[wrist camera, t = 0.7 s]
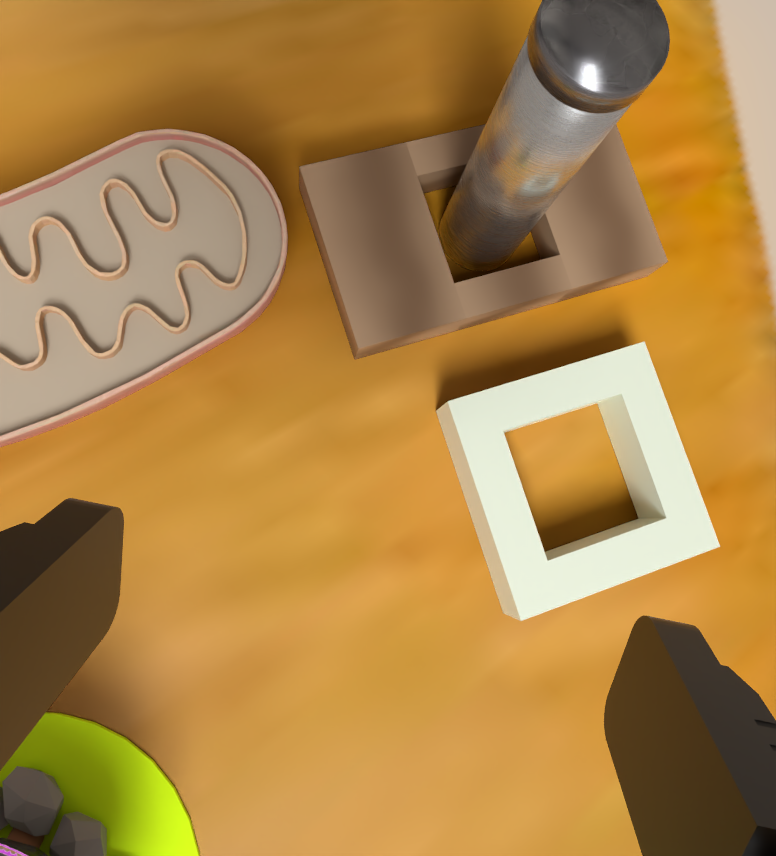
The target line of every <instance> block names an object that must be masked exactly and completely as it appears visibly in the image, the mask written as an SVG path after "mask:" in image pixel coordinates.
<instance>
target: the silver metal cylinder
mask: <svg viewBox="0 0 776 856" xmlns="http://www.w3.org/2000/svg"><path fill="white" fill-rule="evenodd" d="M669 43H670V38H669V29H668V24H667V21H666V18H665V15H664V13H663V11H662V9H661V7H660V6H659V4H658V2H657V1H656V0H542V2H541V5H540V7H539V9H538V11H537V13H536V15H535V17H534V20H533V22H532V24H531V26H530V29H529V33H528V36H527V38H526V40H525V42H524V44H523V47H522V49H521V51H520V53H519V55H518V57H517V59H516V61H515V64H514V66H513V68H512V70H511V72H510V74H509V76H508V78H507V81H506V83H505V85H504V87H503V89H502V91H501V93H500V95H499V97H498V100H497V102H496V104H495V106H494V108H493V110H492V112H491V114H490V117H489V119H488V121H487V123H486V125H485V127H484V129H483V131H482V134H481V136H480V138H479V140H478V142H477V144H476V146H475V148H474V150H473V153H472V155H471V157H470V159H469V161H468V163H467V165H466V167H465V170H464V172H463V174H462V176H461V178H460V180H459V182H458V184H457V187H456V189H455V191H454V193H453V195H452V197H451V199H450V201H449V203H448V206H447V208H446V210H445V212H444V214H443V216H442V219H441V222H440V227H439V235H440V241H441V244H442V246H443V249H444V250H445V252H446V253H447V255H448V256H449V257H450V258H451V259H452V260H453V261H454V262H455V263H456V264H458V265H459V266H461V267H463V268H465V269H468V270H472V271H480V272H482V271H490V270H493V269H496V268H498V267H500V266H501V265H502V264H504V263H505V262H506V261H507V260H508V259H509V257H510V256H511V255H512V254H513V252H514V251H515V250H516V249H517V247H518V246H519V245H520V244H521V242H522V241H523V240H524V239H525V237H526V236H527V235H528V234H529V232H530V231H531V230H532V228H533V227H534V226H535V225H536V223H537V222H538V221H539V220H540V218H541V217H542V216H543V215H544V213H545V212H546V211H547V210H548V208H549V207H550V206H551V205H552V203H553V202H554V201H555V200H556V198H557V197H558V196H559V195H560V193H561V192H562V191H563V190H564V188H565V187H566V186H567V184H568V183H569V182H570V181H571V179H572V178H573V177H574V176H575V174H576V173H577V172H578V171H579V169H580V168H581V167H582V166H583V164H584V163H585V162H586V161H587V159H588V158H589V157H590V156H591V154H592V153H593V152H594V151H595V149H596V148H597V147H598V146H599V144H600V143H601V142H602V141H603V139H604V138H605V137H606V135H607V134H608V133H609V132H610V130H611V129H612V128H613V127H614V125H615V124H616V123H617V122H618V120H619V119H620V118H621V117H622V115H623V114H624V113H625V112H626V110H627V109H628V108H629V107H630V105H631V104H632V103H633V102H634V101H635V100H636V99H638V98H639V97H640V95H641V94H642V93H643V92H644V90H645V89H646V88H647V87H648V85H649V84H650V83H651V82H652V80H653V79H654V78H655V77H656V75H657V74H658V73H659V72H660V70H661V69H662V67H663V65H664V63H665V61H666V58H667V56H668V51H669Z"/></svg>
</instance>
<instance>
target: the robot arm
mask: <svg viewBox="0 0 776 856" xmlns="http://www.w3.org/2000/svg"><path fill="white" fill-rule="evenodd" d="M123 530H124V518H123V513H122V511H121V509H120V508H118V507H113V506H108V505H103V504H98V503H93V502H88V501H83V500H78V499H73V498H69V499H66V500H64V501H63V502H62V503H60V504H59V505H58V506H57V507H55V508H54V509H53V510H52V511H50V512H49V513H48V514H46V515H45V516H44V517H43V518H41V519H40V520H39V521H38V522H36V523H35V524H30V523H25V522H24V523H22V524H19V525H16V526H14V527H11V528H9V529H6V530H3V531H1V532H0V771H1V769H2V768H3V767H4V766H5V764H6V763H7V762H8V760H9V759H10V758H11V757H12V755H13V754H14V753H15V751H16V750H17V749H18V747H19V746H20V745H21V744H22V742H23V741H24V740H25V738H26V737H27V736H28V735H29V733H30V732H31V731H32V729H33V728H34V727H35V726H36V724H37V723H38V722H39V720H40V719H41V718H42V716H43V715H44V714H45V713H46V711H47V710H48V709H49V707H50V706H51V705H52V704H53V702H54V701H55V700H56V698H57V697H58V696H59V695H60V693H61V692H62V691H63V689H64V688H65V687H66V685H67V684H68V683H69V682H70V680H71V679H72V678H73V676H74V675H75V674H76V673H77V671H78V670H79V669H80V667H81V666H82V665H83V663H84V662H85V661H86V660H87V658H88V657H89V656H90V654H91V653H92V652H93V651H94V649H95V648H96V647H97V645H98V644H99V643H100V642H101V640H102V639H103V638H104V636H105V635H106V633H107V632H108V630H109V628H110V626H111V624H112V621H113V619H114V616H115V614H116V610H117V607H118V602H119V596H120V582H121V565H122V547H123ZM604 728H605V736H606V740H607V744H608V747H609V750H610V753H611V757H612V760H613V763H614V766H615V769H616V773H617V776H618V779H619V782H620V785H621V788H622V792H623V795H624V798H625V801H626V804H627V808H628V811H629V814H630V817H631V820H632V823H633V827H634V830H635V833H636V836H637V839H638V843H639V846H640V849H641V852H642V855H643V856H776V720H775V719H774V717H773V716H772V714H771V713H770V711H769V710H768V708H767V707H766V705H765V704H764V702H763V701H762V699H761V697H760V696H759V694H757V693H756V692H755V691H754V690H753V689H752V688H751V687H750V686H749V685H748V684H747V683H746V682H744V681H743V680H742V679H741V678H740V677H739V676H738V675H737V674H736V673H735V672H734V671H732V670H731V669H730V668H729V667H728V666H723V665H720V663H719V661H718V660H717V658H716V657H715V655H714V653H713V652H712V650H711V648H710V647H709V645H708V644H707V642H706V640H705V639H704V637H703V635H702V634H701V632H700V631H699V629H698V628H697V627H695V626H693V625H689V624H684V623H680V622H675V621H670V620H665V619H660V618H655V617H650V616H641V617H640V618H639V619H638V620H637V621H636V623H635V624H634V626H633V629H632V631H631V634H630V637H629V639H628V642H627V645H626V647H625V650H624V653H623V655H622V658H621V661H620V664H619V666H618V669H617V672H616V674H615V677H614V680H613V682H612V685H611V688H610V691H609V693H608V696H607V700H606V705H605V713H604Z"/></svg>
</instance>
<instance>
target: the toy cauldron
mask: <svg viewBox="0 0 776 856" xmlns="http://www.w3.org/2000/svg"><path fill="white" fill-rule="evenodd" d="M0 856H200V853H199V849H198V845H197V841H196V838H195V834H194V830H193V826H192V822H191V819H190V817H189V815H188V813H187V811H186V809H185V807H184V805H183V803H182V801H181V799H180V796H179V794H178V792H177V790H176V788H175V787H174V785H173V784H172V783H171V782H170V780H169V779H168V778H167V777H166V775H165V774H164V773H163V772H162V770H161V769H160V768H159V766H158V765H157V764H156V763H155V761H154V760H153V759H152V758H150V757H149V756H148V755H147V754H145V753H144V752H143V751H142V750H141V749H139V748H138V747H137V746H136V745H134V744H133V743H132V742H131V741H129V740H128V739H127V738H126V737H124V736H122V735H120V734H118V733H116V732H114V731H112V730H110V729H108V728H106V727H104V726H102V725H100V724H98V723H96V722H93V721H89V720H85V719H81V718H78V717H74V716H70V715H66V714H62V713H51V712H46V713H45V714H44V715H43V716H42V718H41V719H40V720H39V722H38V723H37V724H36V726H35V727H34V728H33V729H32V731H31V732H30V733H29V735H28V736H27V737H26V738H25V740H24V741H23V742H22V744H21V745H20V746H19V747H18V749H17V750H16V751H15V753H14V754H13V755H12V757H11V758H10V759H9V760H8V762H7V763H6V764H5V766H4V767H3V768H2V769H1V771H0Z"/></svg>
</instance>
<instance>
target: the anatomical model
mask: <svg viewBox="0 0 776 856" xmlns="http://www.w3.org/2000/svg"><path fill="white" fill-rule="evenodd" d="M287 249H288V235H287V225H286V220H285V216H284V212H283V208H282V204H281V202H280V200H279V198H278V196H277V194H276V192H275V190H274V188H273V186H272V184H271V183H270V182H269V180H268V179H267V177H266V176H265V175H264V173H263V172H262V171H261V170H260V169H259V168H258V167H257V166H256V165H255V164H254V163H253V162H252V161H251V160H250V159H249V158H248V157H246V156H245V155H243V154H242V153H241V152H239V151H238V150H237V149H235V148H234V147H232V146H230V145H228V144H226V143H224V142H222V141H220V140H218V139H215V138H213V137H210V136H208V135H205V134H201V133H196V132H191V131H186V130H177V129H159V130H149V131H143V132H137V133H135V134H132V135H130V136H127V137H125V138H122V139H120V140H118V141H116V142H114V143H112V144H110V145H108V146H106V147H104V148H102V149H100V150H98V151H96V152H94V153H92V154H90V155H88V156H86V157H83V158H81V159H79V160H77V161H75V162H73V163H71V164H69V165H67V166H65V167H63V168H61V169H59V170H57V171H55V172H53V173H51V174H48V175H46V176H44V177H41V178H39V179H37V180H34V181H32V182H30V183H27V184H25V185H23V186H20V187H18V188H16V189H13V190H11V191H8V192H6V193H3V194H0V447H2V446H5V445H9V444H12V443H16V442H19V441H22V440H25V439H28V438H30V437H33V436H36V435H38V434H41V433H44V432H47V431H49V430H52V429H55V428H57V427H60V426H63V425H66V424H68V423H70V422H72V421H75V420H77V419H79V418H82V417H84V416H86V415H89V414H91V413H93V412H96V411H98V410H100V409H102V408H105V407H107V406H109V405H111V404H113V403H115V402H117V401H119V400H121V399H122V398H124V397H126V396H128V395H130V394H132V393H134V392H136V391H138V390H140V389H142V388H144V387H146V386H148V385H150V384H152V383H153V382H155V381H157V380H159V379H161V378H162V377H164V376H166V375H168V374H169V373H171V372H173V371H175V370H176V369H178V368H180V367H181V366H183V365H185V364H187V363H188V362H190V361H192V360H194V359H195V358H197V357H199V356H200V355H202V354H204V353H206V352H207V351H209V350H211V349H213V348H214V347H216V346H218V345H220V344H221V343H223V342H225V341H226V340H228V339H230V338H232V337H233V336H235V335H237V334H239V333H240V332H242V331H243V330H244V329H245V328H247V327H248V326H249V325H250V324H251V323H252V322H254V321H255V320H256V319H257V318H258V317H259V316H260V315H261V314H262V313H263V311H264V310H265V309H266V308H267V306H268V305H269V304H270V302H271V300H272V298H273V297H274V295H275V293H276V291H277V290H278V287H279V284H280V281H281V278H282V276H283V273H284V270H285V263H286V256H287Z"/></svg>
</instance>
